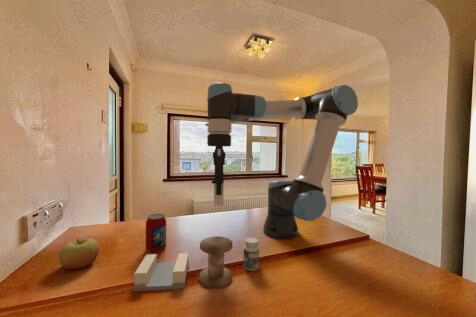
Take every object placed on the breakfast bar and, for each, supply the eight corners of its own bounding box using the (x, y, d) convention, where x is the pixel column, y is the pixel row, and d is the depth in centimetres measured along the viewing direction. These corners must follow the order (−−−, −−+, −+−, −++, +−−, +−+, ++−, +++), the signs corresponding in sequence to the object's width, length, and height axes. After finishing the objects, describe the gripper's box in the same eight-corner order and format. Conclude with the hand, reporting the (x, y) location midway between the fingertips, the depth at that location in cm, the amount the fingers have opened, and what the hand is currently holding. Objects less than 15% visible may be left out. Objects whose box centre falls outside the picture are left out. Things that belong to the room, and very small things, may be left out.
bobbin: (230, 268, 65) (231, 236, 65) (233, 287, 56) (233, 249, 56) (200, 269, 64) (200, 236, 64) (198, 289, 55) (198, 250, 55)
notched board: (188, 264, 67) (189, 251, 67) (183, 288, 55) (183, 273, 55) (147, 265, 66) (147, 252, 66) (132, 291, 54) (133, 275, 54)
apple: (65, 260, 68) (65, 235, 68) (101, 255, 72) (101, 231, 72) (53, 277, 59) (53, 248, 59) (95, 270, 63) (95, 243, 63)
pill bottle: (243, 262, 69) (244, 236, 69) (258, 263, 69) (259, 237, 69) (243, 270, 64) (244, 243, 64) (259, 271, 64) (260, 243, 64)
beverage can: (159, 254, 73) (159, 219, 72) (141, 252, 74) (141, 218, 74) (169, 246, 79) (169, 214, 79) (153, 244, 81) (153, 212, 80)
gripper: (209, 136, 81) (209, 192, 81) (204, 130, 56) (204, 211, 57) (229, 136, 81) (228, 192, 82) (233, 130, 56) (232, 210, 57)
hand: (218, 200), depth 69 cm, fingers open, 13 cm apart
